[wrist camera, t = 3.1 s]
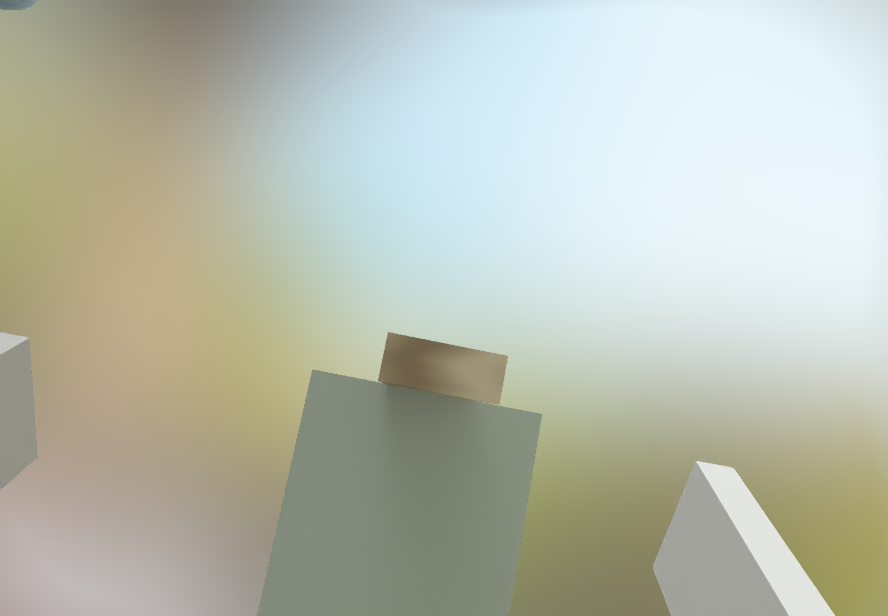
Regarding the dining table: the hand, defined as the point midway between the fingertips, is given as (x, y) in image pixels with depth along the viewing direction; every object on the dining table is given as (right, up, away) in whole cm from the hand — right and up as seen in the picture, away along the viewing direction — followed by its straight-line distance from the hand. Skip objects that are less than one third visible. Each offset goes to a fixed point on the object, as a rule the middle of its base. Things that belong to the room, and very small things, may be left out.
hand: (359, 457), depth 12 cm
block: (+1, -2, +20) cm, 20 cm away
